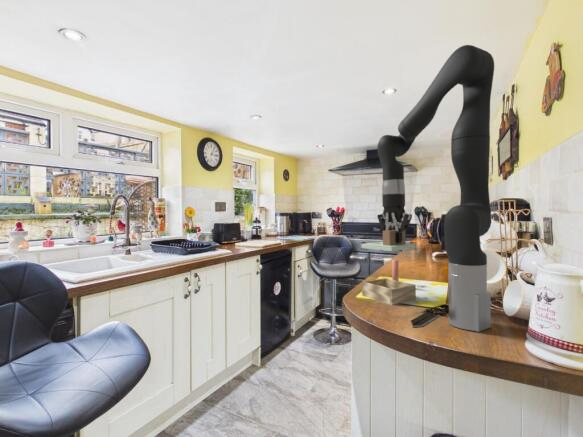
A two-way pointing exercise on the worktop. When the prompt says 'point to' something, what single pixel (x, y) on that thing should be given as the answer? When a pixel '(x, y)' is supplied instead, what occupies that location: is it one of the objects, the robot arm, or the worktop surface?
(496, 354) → the worktop surface
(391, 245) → the lid
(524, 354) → the worktop surface
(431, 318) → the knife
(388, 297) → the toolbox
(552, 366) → the worktop surface
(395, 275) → the rounded rod
